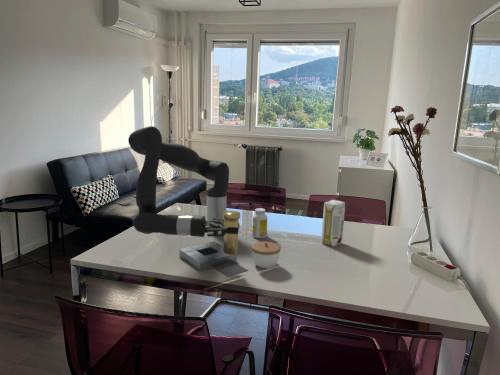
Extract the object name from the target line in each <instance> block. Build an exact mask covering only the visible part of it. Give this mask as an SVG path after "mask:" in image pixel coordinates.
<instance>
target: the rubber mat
mask: <svg viewBox="0 0 500 375" xmlns="http://www.w3.org/2000/svg"><path fill="white" fill-rule="evenodd" d="M213 269H215V270H216V271H218V272H220V273H221V274H222V275H224V276H226V277H227V278H229V277H232V276H235V275H239V274H243V273H245V272H248V271H249V269H247V268H245V267H243V265H240V264H238V263H237V262H236V261H235V262H231V263H227V264H224V265H220V266H217V267H213Z"/></svg>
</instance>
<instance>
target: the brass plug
mask: <svg viewBox="0 0 500 375" xmlns="http://www.w3.org/2000/svg"><path fill="white" fill-rule="evenodd" d="M223 218H225V220H224V227H227V228H228V227H237V228H238V224H240V221H239V219H241V212H239V211H237V210H227V211H225V212H223ZM238 244H239V233H238V234H226V235H225V236H223V246H224V253H225V254H236V253H238V249H239V247H238V246H239V245H238Z"/></svg>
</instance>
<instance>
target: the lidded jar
mask: <svg viewBox="0 0 500 375" xmlns="http://www.w3.org/2000/svg"><path fill="white" fill-rule="evenodd" d="M281 249H282V248H281V246H280V245H279V244H278V243H276V242H271V241H260V242H259V241H258V242H255V243H253V244H252V245H251V257H252V260H253V263H254V264H255V265H256V266H257V267H258V268H261V269H267V270H272V269H274V267H275V266H276V265H277V264H278V262H279V260H280V257H281V256H280V255H281Z"/></svg>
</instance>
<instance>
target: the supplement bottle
mask: <svg viewBox="0 0 500 375" xmlns="http://www.w3.org/2000/svg"><path fill="white" fill-rule="evenodd" d="M267 236H268V215H267V214H266V209H265V208H261V207H260V208H259V207H258V208H255V209H254V214H253V216H252V237H253V238H256V239H265V238H266V237H267Z"/></svg>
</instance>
